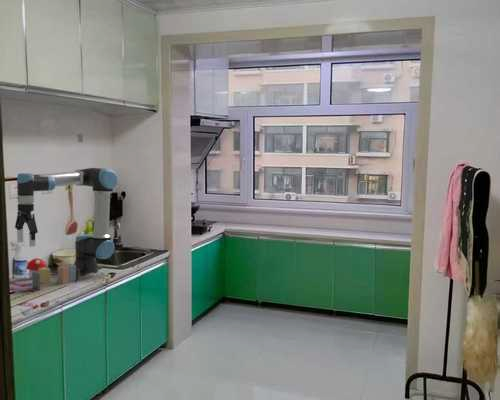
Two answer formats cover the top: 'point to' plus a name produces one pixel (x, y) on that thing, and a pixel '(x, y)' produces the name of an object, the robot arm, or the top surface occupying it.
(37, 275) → the bookend
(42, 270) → the book ochre
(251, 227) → the top surface
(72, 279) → the book slate
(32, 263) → the mushroom
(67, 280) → the book terracotta
